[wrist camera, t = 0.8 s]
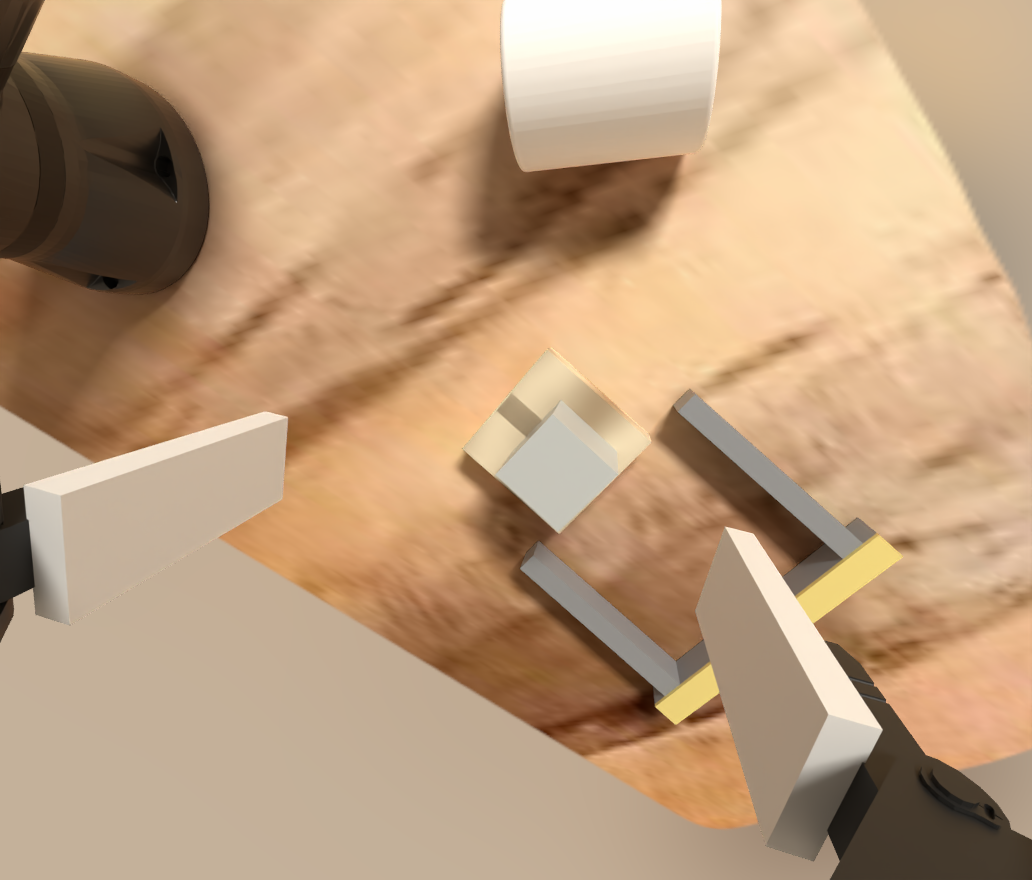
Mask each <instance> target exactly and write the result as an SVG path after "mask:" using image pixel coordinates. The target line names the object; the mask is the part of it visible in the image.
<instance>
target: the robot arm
mask: <svg viewBox="0 0 1032 880" xmlns="http://www.w3.org/2000/svg"><path fill="white" fill-rule="evenodd" d="M44 1H45V0H0V258H4V259H10V260H13V261H16V262H18V263H21V264H24V265H26V266H29V267H32V268H34V269H37V270H40V271H42V272H45V273H48V274H50V275H53V276H56V277H58V278H61V279H64V280H66V281H69V282H72V283H74V284H77V285H79V286H82V287H85V288H88V289H91V290H95V291H100V292H106V293H120V294H148V293H153V292H156V291H159V290H161V289H164V288H166V287H168V286H170V285H171V284H173V283H174V282H175V281H177V280H178V279H179V278H180V277H181V276H182V275H183V274H184V273H185V272H186V271H187V270H188V269H189V267H190V266H191V264H192V263H193V261H194V260H195V258H196V256H197V254H198V252H199V250H200V247H201V245H202V242H203V239H204V236H205V231H206V227H207V221H208V208H209V199H208V186H207V179H206V174H205V170H204V166H203V162H202V159H201V156H200V153H199V150H198V148H197V145H196V143H195V141H194V139H193V137H192V135H191V133H190V131H189V129H188V128H187V126H186V124H185V123H184V121H183V120H182V119H181V117H180V116H179V114H178V113H177V112H176V111H175V109H174V108H173V107H172V106H171V105H170V104H169V103H168V102H167V101H166V100H165V99H164V98H163V97H162V96H161V95H159V94H158V93H157V92H156V91H154V90H153V89H151V88H150V87H148V86H147V85H145V84H143V83H141V82H139V81H137V80H135V79H133V78H131V77H129V76H127V75H125V74H123V73H121V72H119V71H117V70H115V69H113V68H111V67H108V66H106V65H103V64H99V63H96V62H92V61H87V60H81V59H73V58H66V57H58V56H51V55H43V54H36V53H28V52H21V51H22V49H23V47H24V45H25V43H26V40H27V38H28V36H29V34H30V32H31V29H32V27H33V25H34V23H35V21H36V18H37V16H38V14H39V12H40V10H41V7H42V5H43V3H44ZM287 425H288V417H285V416H281V415H277V414H273V413H269V412H262V413H258V414H255V415H252V416H248V417H245V418H242V419H239V420H235V421H232V422H229V423H225V424H222V425H219V426H216V427H212V428H209V429H206V430H202V431H199V432H196V433H193V434H189V435H186V436H183V437H179V438H176V439H173V440H170V441H166V442H163V443H160V444H156V445H153V446H150V447H147V448H143V449H140V450H137V451H133V452H130V453H127V454H124V455H120V456H117V457H114V458H110V459H107V460H104V461H101V462H97V463H94V464H91V465H88V466H84V467H81V468H78V469H75V470H71V471H68V472H65V473H61V474H58V475H55V476H51V477H48V478H45V479H42V480H38V481H35V482H32V483H28V484H25V485H24V487H23V488H19V489H16V490H13V491H10V492H7V493H3V494H1V485H0V642H1V640H2V638H3V636H4V633H5V631H6V630H7V628H8V625H9V623H10V621H11V619H12V617H13V613H14V605H13V597H15V596H17V595H19V594H21V593H23V592H25V591H27V590H29V589H32V588H33V592H34V601H35V614H36V615H39V616H42V617H45V618H48V619H51V620H54V621H57V622H61V623H64V624H67V625H71V624H73V623H74V622H76V621H78V620H80V619H81V618H83V617H85V616H86V615H88V614H90V613H91V612H93V611H95V610H97V609H98V608H100V607H102V606H103V605H105V604H107V603H108V602H110V601H112V600H113V599H115V598H117V597H119V596H120V595H122V594H124V593H125V592H127V591H128V590H130V589H132V588H134V587H135V586H137V585H139V584H140V583H142V582H144V581H145V580H147V579H149V578H150V577H152V576H154V575H156V574H157V573H159V572H161V571H162V570H164V569H166V568H167V567H169V566H171V565H172V564H174V563H176V562H177V561H179V560H181V559H183V558H184V557H186V556H188V555H189V554H191V553H193V552H194V551H196V550H198V549H199V548H201V547H203V546H204V545H206V544H208V543H209V542H211V541H213V540H215V539H216V538H218V537H220V536H221V535H223V534H225V533H226V532H228V531H230V530H231V529H233V528H235V527H236V526H238V525H240V524H242V523H243V522H245V521H247V520H248V519H250V518H252V517H253V516H255V515H257V514H258V513H260V512H262V511H263V510H265V509H267V508H268V507H270V506H272V505H274V504H275V503H277V502H279V501H280V500H282V498H283V483H284V469H285V454H286V440H287ZM695 612H696V615H697V619H698V622H699V625H700V629H701V632H702V635H703V639H704V642H705V645H706V649H707V652H708V656H709V659H710V662H711V666H712V669H713V672H714V676H715V679H716V682H717V686H718V689H719V692H720V696H721V699H722V702H723V706H724V709H725V712H726V716H727V719H728V722H729V726H730V729H731V732H732V736H733V739H734V742H735V746H736V749H737V752H738V756H739V759H740V762H741V766H742V769H743V772H744V776H745V779H746V782H747V786H748V789H749V792H750V796H751V799H752V802H753V806H754V809H755V812H756V816H757V819H758V822H759V826H760V829H761V832H762V835H763V839H764V842H765V846H767V847H770V848H773V849H776V850H780V851H782V852H786V853H789V854H792V855H795V856H798V857H802V858H805V859H808V860H811V861H814V860H815V858H816V856H817V855H818V853H819V851H820V849H821V847H822V845H823V843H824V841H825V839H826V837H827V835H828V834H829V837H830V839H831V841H832V843H833V846H834V848H835V850H836V853H837V855H838V858H839V860H840V862H839V864H838V866H837V868H836V870H835V872H834V873H833V875H832V877H831V879H830V880H1032V840H1031V839H1029V838H1027V837H1025V836H1023V835H1021V834H1019V833H1017V832H1015V831H1013V830H1011V828H1010V823H1009V820H1008V819H1007V817H1006V816H1005V814H1004V813H1003V812H1002V810H1001V809H1000V807H999V806H998V804H997V803H995V801H994V800H993V799H992V798H991V797H990V796H989V795H988V794H987V793H986V792H984V790H983V789H981V788H980V787H979V786H978V785H977V784H975V783H974V782H973V781H971V780H970V779H968V778H967V777H966V776H965V775H963V774H962V773H961V772H959V771H958V770H956V769H954V768H952V767H950V766H949V765H947V764H945V763H943V762H941V761H940V760H938V759H935V758H932V757H929V756H927V755H925V753H924V752H923V751H922V749H921V748H920V746H919V745H918V744H917V742H916V741H915V739H914V738H913V737H912V735H911V734H910V732H909V731H908V730H907V728H906V727H905V726H904V724H903V723H902V721H901V720H900V719H899V717H898V716H897V714H896V713H895V712H894V710H893V709H892V707H891V706H890V705H889V704H887V703H886V699H885V698H884V696H883V695H882V694H881V692H880V691H879V689H878V688H877V687H874V682H873V681H872V680H871V678H870V677H869V675H868V674H867V673H866V671H865V670H864V668H863V667H862V666H861V664H860V663H859V662H858V661H856V660H855V659H854V658H853V657H852V656H851V655H850V654H848V653H847V652H846V651H845V650H844V649H843V648H842V647H840V646H839V645H838V644H835V643H832V642H828V641H824V640H823V638H822V637H821V635H820V634H819V632H818V631H817V629H816V628H815V626H814V625H813V623H812V622H811V620H810V619H809V617H808V616H807V614H806V613H805V611H804V610H803V608H802V607H801V605H800V604H799V602H798V601H797V599H796V598H795V596H794V595H793V593H792V592H791V590H790V588H789V587H788V585H787V584H786V582H785V581H784V579H783V578H782V576H781V575H780V573H779V572H778V570H777V569H776V567H775V566H774V564H773V563H772V561H771V560H770V558H769V557H768V555H767V554H766V552H765V551H764V549H763V548H762V546H761V545H760V543H759V542H758V540H757V538H756V537H755V535H754V534H753V533H749V532H745V531H741V530H737V529H733V528H729V527H725V528H724V531H723V534H722V536H721V539H720V542H719V545H718V548H717V551H716V553H715V556H714V559H713V562H712V565H711V568H710V570H709V573H708V576H707V579H706V582H705V584H704V587H703V590H702V593H701V596H700V599H699V601H698V604H697V607H696V610H695Z"/></svg>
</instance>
